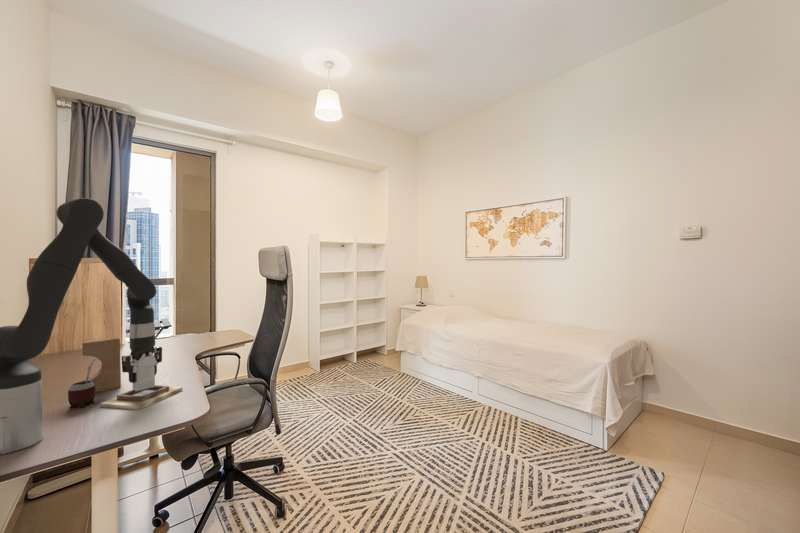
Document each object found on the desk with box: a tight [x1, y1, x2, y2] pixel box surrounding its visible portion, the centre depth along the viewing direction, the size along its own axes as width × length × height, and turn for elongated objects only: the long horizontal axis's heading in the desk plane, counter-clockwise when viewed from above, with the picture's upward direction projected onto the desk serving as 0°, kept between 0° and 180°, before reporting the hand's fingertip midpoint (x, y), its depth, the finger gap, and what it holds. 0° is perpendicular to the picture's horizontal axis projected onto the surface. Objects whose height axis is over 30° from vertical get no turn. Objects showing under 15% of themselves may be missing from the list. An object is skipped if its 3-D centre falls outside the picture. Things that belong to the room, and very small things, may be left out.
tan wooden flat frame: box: [100, 384, 183, 411], centre depth 123 cm, size 18×16×3 cm
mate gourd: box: [67, 358, 96, 409], centre depth 118 cm, size 8×8×15 cm
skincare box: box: [132, 354, 156, 391], centre depth 123 cm, size 6×4×12 cm
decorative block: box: [81, 336, 122, 394], centre depth 132 cm, size 11×6×20 cm, turn 134°
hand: (143, 378), depth 123 cm, fingers closed on skincare box, 7 cm apart
